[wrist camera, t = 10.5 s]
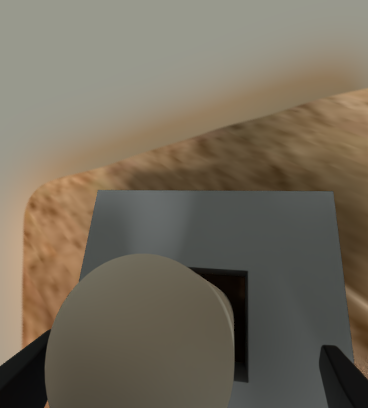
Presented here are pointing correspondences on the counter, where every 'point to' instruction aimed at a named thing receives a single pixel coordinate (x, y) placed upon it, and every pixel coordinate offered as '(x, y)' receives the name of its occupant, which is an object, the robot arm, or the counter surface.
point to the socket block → (247, 274)
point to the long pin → (141, 339)
